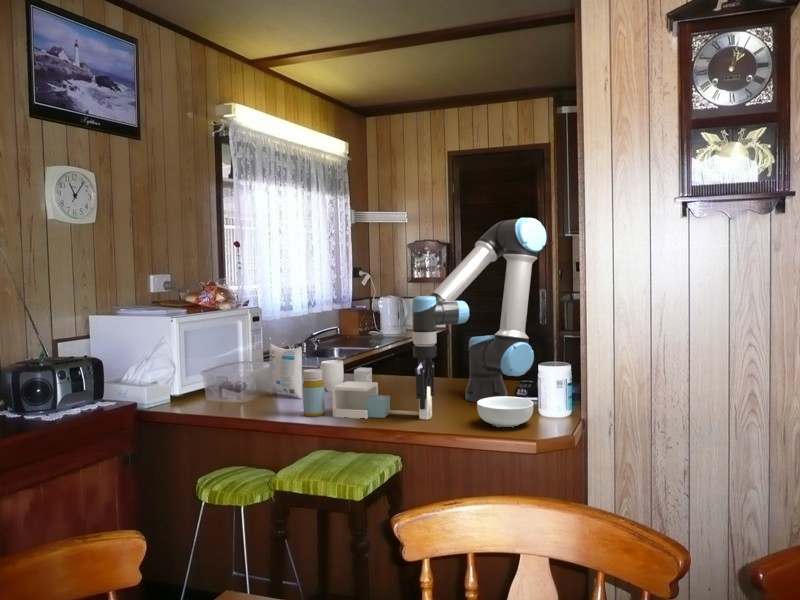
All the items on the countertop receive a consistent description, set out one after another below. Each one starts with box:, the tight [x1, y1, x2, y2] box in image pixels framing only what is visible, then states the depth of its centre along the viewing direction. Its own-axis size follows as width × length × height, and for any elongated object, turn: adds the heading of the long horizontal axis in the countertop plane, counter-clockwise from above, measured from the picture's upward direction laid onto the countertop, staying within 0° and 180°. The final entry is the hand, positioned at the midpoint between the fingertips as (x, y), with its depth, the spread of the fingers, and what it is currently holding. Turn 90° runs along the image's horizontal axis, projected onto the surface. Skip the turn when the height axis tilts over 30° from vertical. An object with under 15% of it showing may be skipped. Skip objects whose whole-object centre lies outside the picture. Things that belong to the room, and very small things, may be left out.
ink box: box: [353, 367, 373, 382], centre depth 234 cm, size 9×5×12 cm, turn 168°
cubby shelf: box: [331, 380, 379, 420], centre depth 212 cm, size 12×10×10 cm
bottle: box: [302, 368, 326, 418], centre depth 213 cm, size 7×7×15 cm
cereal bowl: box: [476, 395, 534, 428], centre depth 193 cm, size 17×17×7 cm
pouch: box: [269, 343, 303, 400], centre depth 246 cm, size 8×19×20 cm, turn 44°
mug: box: [318, 359, 345, 393], centre depth 255 cm, size 12×9×12 cm
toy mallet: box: [366, 386, 432, 420], centre depth 207 cm, size 21×6×10 cm, turn 70°
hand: (425, 417), depth 204 cm, fingers closed on toy mallet, 3 cm apart
